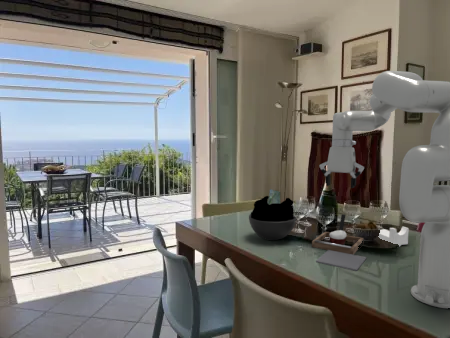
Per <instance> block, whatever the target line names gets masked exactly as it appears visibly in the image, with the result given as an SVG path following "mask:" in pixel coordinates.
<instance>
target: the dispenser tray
mask: <svg viewBox="0 0 450 338" xmlns="http://www.w3.org/2000/svg"><path fill="white" fill-rule="evenodd" d="M330 233H331V232H329V231H324V232H323V233H322V234H320V235H318V236H317V237H316V238H314V239H313V240H312V241H311V247H312V248H314V249H315V248H316V249H319V250H326V251H328V250H332V251H337V252H342V253H347V254H352V255H355V254H356V252H357V251H358V250H359V249H360V248H359V247H358V246H359V245H360V244H361V243H362V241H363V242H364V237H359V236H352V235H347V234H346V235H347V236H346V240H358V241H357V242H356V243H353V245H352V246H350V245H345V244H344V245H339V244H334V243H330V242H328V241H321V240H323V239H324V238H325V237H330V235H329V234H330ZM358 248H359V249H358Z"/></svg>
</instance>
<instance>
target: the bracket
mask: <svg viewBox="0 0 450 338" xmlns="http://www.w3.org/2000/svg"><path fill="white" fill-rule="evenodd" d="M379 230H380V233H379V236H378V237H379V238H380V239H382V240H385V241H388V242H391V243H393V244H398V245H399V247H401V246H402V245H408V243H409V233H410V232H409V230H410V229H409V227H406V226H401V229H400V231H399V232H397V228H394V227H389V230H388V229H384V228H383V229H379ZM399 247H398V248H399Z"/></svg>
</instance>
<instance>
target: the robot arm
mask: <svg viewBox="0 0 450 338" xmlns="http://www.w3.org/2000/svg"><path fill="white" fill-rule="evenodd" d="M371 91H372V94H371V96H370V97H369V106H370V108H371V110H344V111H343V112H336V113H334V114H333V115H332V133H331V135H332V136H331V137H332V139H331V147H329V151H328V157H327V161H325V162H323V163H321V164H319V168H320V170H321V172H322V173H323V174H322V175H324V177H325V182H324V184H326V187H328V186H330V185H331V176H332V175H331V173H342V174H343V173H345V174H350V176H351V178H350V189H353V188H355V187H356V186H357V178H358V177H359V176H360V175H361V174H362V172H363V171H364V169H365V166H363V165H361V164H359V163H357V162H356V151H355V148H354V147H353V146H354V145H356V144H357V141H355V140H353V132H371V131H374V130H377V129H379V128H380V127H383V126H384V125H385V124H387V123H388V121H389V120H390V117H391V115H392V113H393V112H394V111H396V110H398V109H399V110H401V111H404V112H407V113H426V114H427V113H436V114H439V115H438V116H437V118H436V119H435V120H434V123H433V124H432V127H431V130H430V141H429V144H424V145H423V144H422V145H421V144H420V145H417V146H416V145H415V146H413V147H412V148H410V149H408V151H407V152H406V154H405V155H404V157H403V158H402V162H401V167H400V168H401V171H400V184H399V197H398V198H399V199H398V200H399V201H398V202H399V209H400V212H401V215H402V216H403V218H405V219H406V220H408V221H409V222H412V223H418V224H419V223H424V224H423V226H422V228H421V233H420V244H419V258H418V272H417V273H418V275H417V284H415V285H413V286H411V288H410V294H411V295H412V297H414V299H415V300H418V301H419V302H421V303H424V304H426V305H428V306H432V307H435V308H436V307H437V308H439V309H448V308H450V185H447V184H440V185H439V184H437V185H434V182H446V181H447V182H448V181H450V81H446V80H445V81H444V80H425V79H423V78H422V76H420V75H419V74H417V73H414V72H411V71H400V70H398V71H397V70H386V71H382V72H381V73H380V74H378V75H377V76H376V77H375V78H374V80H373V82H372V87H371ZM325 166H327V167H326V168H327V170H326V169H325ZM356 168H357V169H358V170H357V172H356Z"/></svg>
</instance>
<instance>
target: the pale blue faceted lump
mask: <svg viewBox="0 0 450 338" xmlns="http://www.w3.org/2000/svg"><path fill="white" fill-rule="evenodd" d="M268 196H270V197H269V198H268V199H267V200H268V201H267V202H268V204H269V205H270V204H272V203H279V204H280V203H281V191H280V190H279V191H278V190H274V189H269V193H268Z"/></svg>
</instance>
